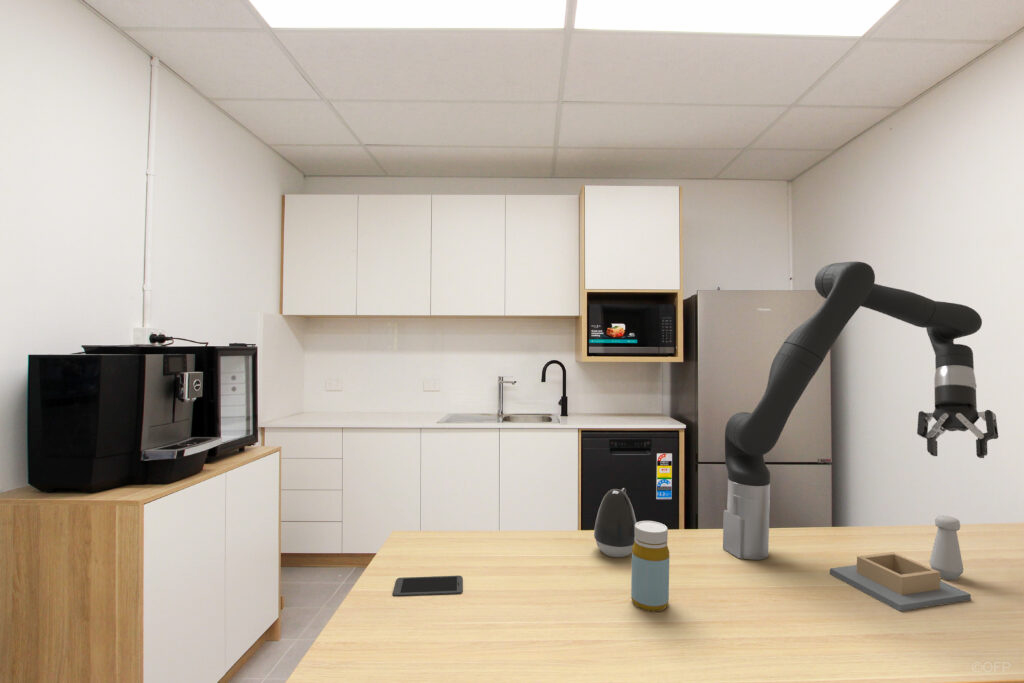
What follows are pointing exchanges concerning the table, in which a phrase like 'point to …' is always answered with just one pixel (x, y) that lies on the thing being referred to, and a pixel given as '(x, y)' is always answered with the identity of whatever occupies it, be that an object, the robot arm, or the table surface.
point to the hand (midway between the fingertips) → (956, 456)
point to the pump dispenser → (615, 524)
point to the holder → (899, 581)
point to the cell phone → (428, 586)
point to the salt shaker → (947, 548)
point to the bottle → (650, 566)
